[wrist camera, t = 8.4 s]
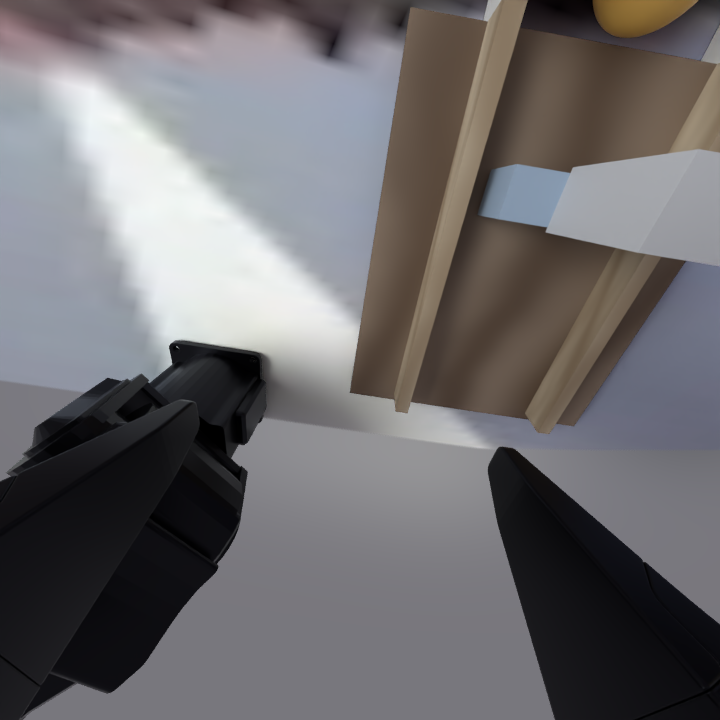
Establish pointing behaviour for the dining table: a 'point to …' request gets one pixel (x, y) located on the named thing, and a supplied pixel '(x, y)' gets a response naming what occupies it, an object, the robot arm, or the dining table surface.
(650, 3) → the ball
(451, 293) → the board
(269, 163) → the dining table surface
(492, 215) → the striker
